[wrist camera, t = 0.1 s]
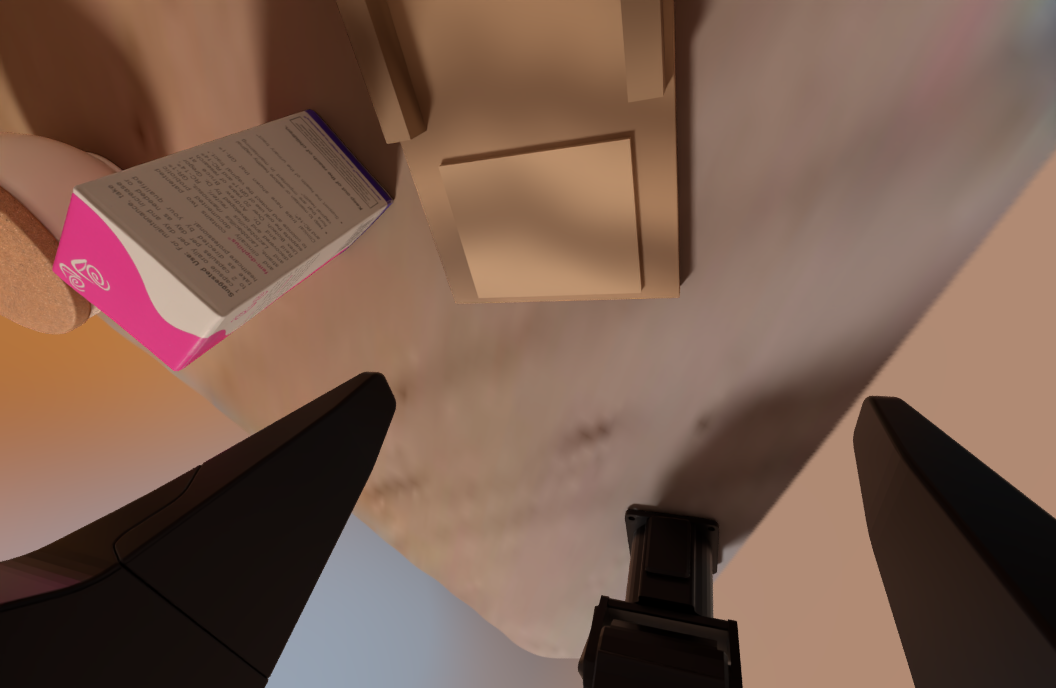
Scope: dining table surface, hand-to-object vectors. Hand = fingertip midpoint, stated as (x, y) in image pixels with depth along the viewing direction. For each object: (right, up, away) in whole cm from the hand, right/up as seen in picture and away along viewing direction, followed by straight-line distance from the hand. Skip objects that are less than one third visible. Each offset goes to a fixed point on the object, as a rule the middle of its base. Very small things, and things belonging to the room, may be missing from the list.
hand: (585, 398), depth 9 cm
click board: (-1, +11, +11) cm, 16 cm away
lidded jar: (-28, +11, +22) cm, 37 cm away
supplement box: (-12, +10, +16) cm, 22 cm away
